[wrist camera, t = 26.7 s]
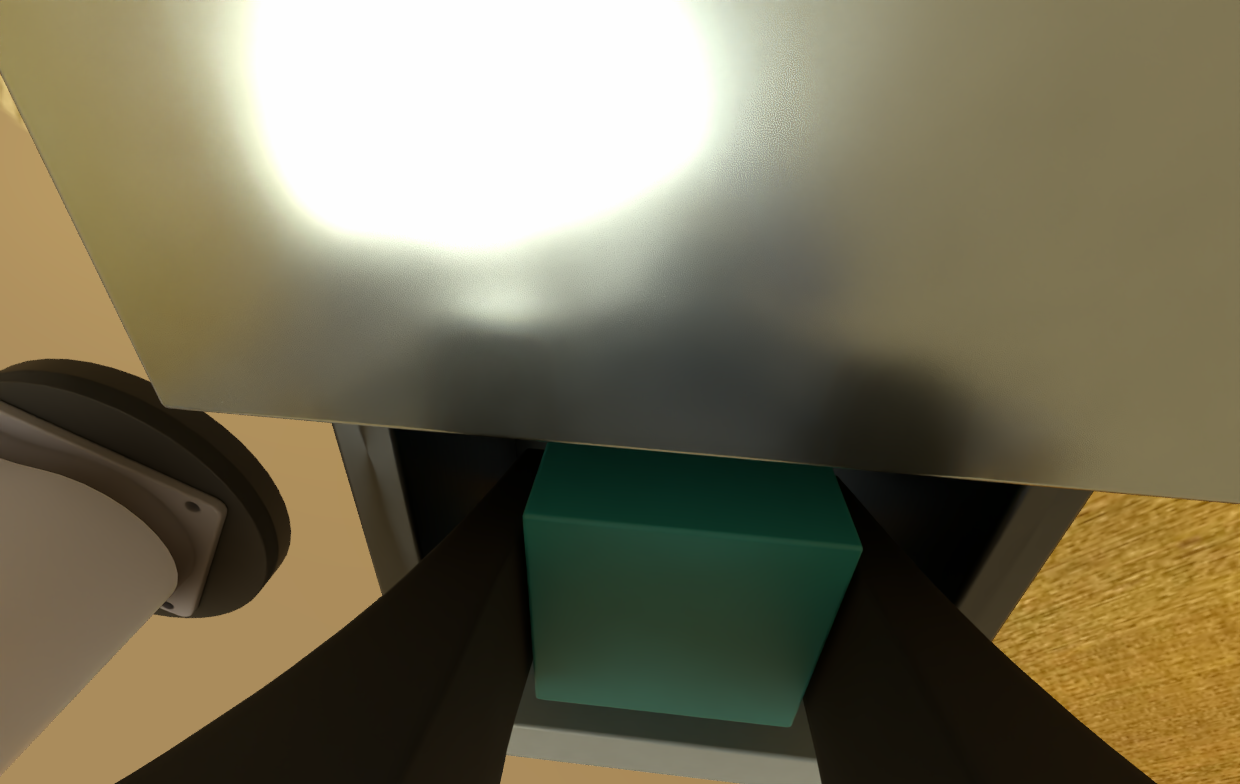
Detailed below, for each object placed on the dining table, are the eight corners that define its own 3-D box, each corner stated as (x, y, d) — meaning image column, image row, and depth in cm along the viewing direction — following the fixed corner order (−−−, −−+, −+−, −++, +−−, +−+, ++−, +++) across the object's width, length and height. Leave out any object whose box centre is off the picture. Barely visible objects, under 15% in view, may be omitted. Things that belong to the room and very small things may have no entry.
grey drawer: (803, 640, 17) (857, 886, 12) (499, 607, 18) (427, 830, 13) (1031, 27, 9) (1547, -20, 4) (426, -1, 9) (110, -76, 4)
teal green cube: (574, 517, 12) (534, 700, 8) (574, 357, 10) (520, 515, 6) (758, 534, 12) (792, 729, 8) (798, 375, 10) (866, 548, 6)
